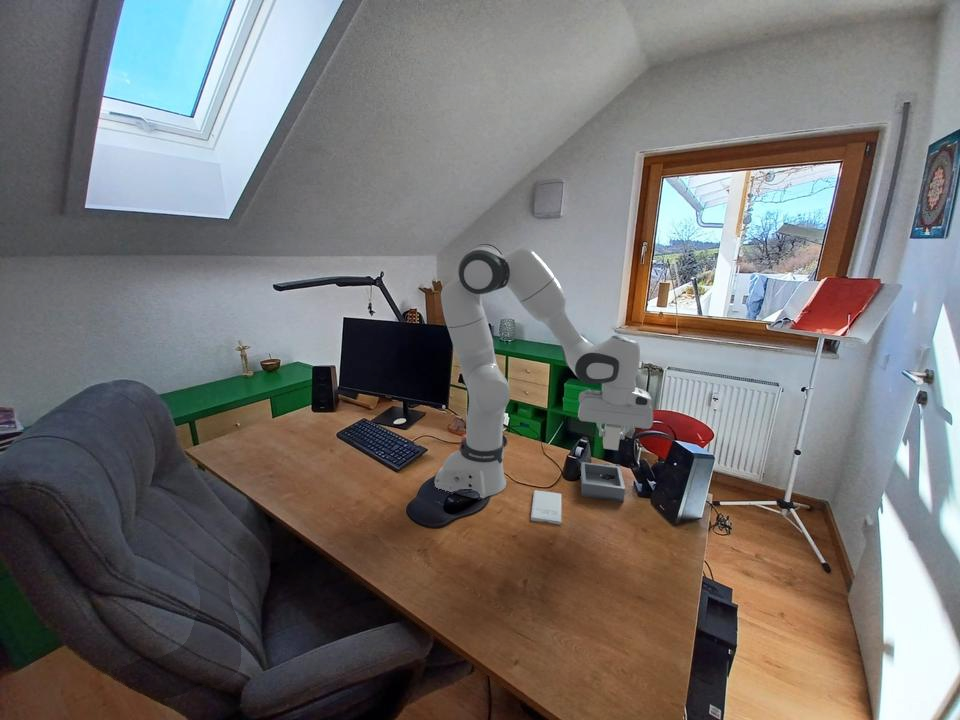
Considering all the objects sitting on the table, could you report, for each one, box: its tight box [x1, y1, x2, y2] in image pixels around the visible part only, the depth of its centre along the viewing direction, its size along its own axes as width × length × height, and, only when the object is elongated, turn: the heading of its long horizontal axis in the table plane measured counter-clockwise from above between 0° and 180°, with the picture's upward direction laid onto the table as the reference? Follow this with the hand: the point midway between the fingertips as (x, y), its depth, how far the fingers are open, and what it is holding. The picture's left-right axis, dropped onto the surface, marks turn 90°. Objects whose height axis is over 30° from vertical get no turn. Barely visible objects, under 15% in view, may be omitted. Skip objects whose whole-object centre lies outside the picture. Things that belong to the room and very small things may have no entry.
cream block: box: [602, 424, 622, 451], centre depth 112 cm, size 4×4×7 cm
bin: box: [579, 461, 626, 503], centre depth 119 cm, size 12×12×4 cm
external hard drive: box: [530, 489, 562, 526], centre depth 110 cm, size 2×8×12 cm
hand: (611, 437), depth 113 cm, fingers closed on cream block, 4 cm apart
